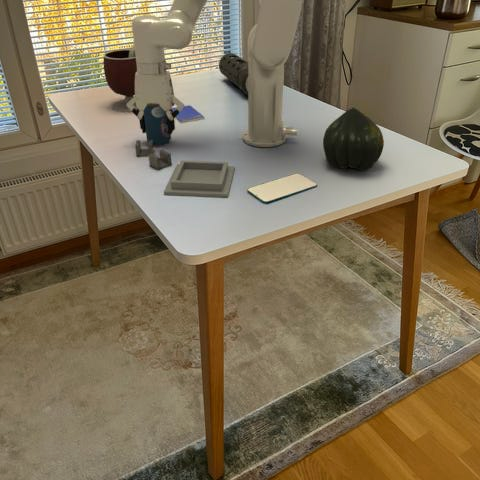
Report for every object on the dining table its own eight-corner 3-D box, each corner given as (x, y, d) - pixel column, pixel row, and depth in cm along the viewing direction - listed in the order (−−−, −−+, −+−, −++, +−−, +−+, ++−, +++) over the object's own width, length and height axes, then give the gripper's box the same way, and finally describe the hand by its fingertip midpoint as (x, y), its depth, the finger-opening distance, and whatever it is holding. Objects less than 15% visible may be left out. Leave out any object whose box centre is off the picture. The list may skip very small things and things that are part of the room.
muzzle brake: (241, 78, 193) (240, 51, 187) (269, 98, 171) (270, 68, 166) (218, 80, 190) (217, 53, 184) (244, 101, 169) (244, 71, 163)
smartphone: (297, 176, 122) (245, 192, 114) (297, 172, 121) (245, 188, 114) (318, 188, 116) (265, 206, 109) (319, 184, 116) (265, 202, 108)
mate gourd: (132, 115, 157) (123, 51, 146) (101, 108, 163) (90, 46, 152) (162, 102, 168) (156, 41, 157) (132, 96, 174) (124, 37, 163)
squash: (365, 165, 113) (386, 106, 114) (307, 154, 120) (327, 98, 121) (376, 184, 125) (394, 130, 126) (323, 172, 132) (341, 122, 133)
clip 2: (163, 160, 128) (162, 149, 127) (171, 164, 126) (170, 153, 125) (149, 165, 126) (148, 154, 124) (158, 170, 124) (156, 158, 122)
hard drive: (204, 116, 154) (190, 104, 163) (180, 120, 151) (167, 108, 160) (204, 120, 155) (190, 109, 164) (180, 125, 152) (168, 113, 161)
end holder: (234, 169, 124) (234, 159, 123) (227, 197, 112) (227, 187, 110) (177, 166, 125) (176, 157, 124) (164, 194, 113) (163, 184, 112)
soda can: (170, 147, 136) (166, 105, 129) (145, 147, 136) (140, 105, 129) (172, 137, 142) (169, 97, 135) (149, 137, 142) (144, 97, 135)
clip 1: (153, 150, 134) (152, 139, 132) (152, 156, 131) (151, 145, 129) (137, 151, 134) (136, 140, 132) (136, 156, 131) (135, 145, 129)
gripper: (186, 64, 129) (190, 128, 139) (123, 63, 131) (132, 126, 141) (180, 72, 123) (185, 138, 133) (114, 70, 125) (124, 136, 135)
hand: (158, 131), depth 137 cm, fingers closed on soda can, 6 cm apart
